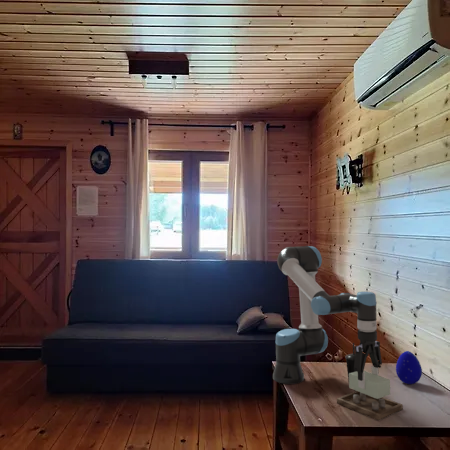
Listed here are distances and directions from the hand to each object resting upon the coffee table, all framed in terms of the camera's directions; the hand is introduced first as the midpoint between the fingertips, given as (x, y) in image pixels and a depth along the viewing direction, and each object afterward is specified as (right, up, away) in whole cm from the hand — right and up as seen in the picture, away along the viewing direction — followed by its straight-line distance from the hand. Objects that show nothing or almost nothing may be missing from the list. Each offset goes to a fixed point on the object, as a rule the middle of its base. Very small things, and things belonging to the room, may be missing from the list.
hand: (368, 385), depth 168 cm
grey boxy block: (0, -2, 0) cm, 2 cm away
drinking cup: (+1, -9, +21) cm, 23 cm away
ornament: (+27, -9, +24) cm, 37 cm away
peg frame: (0, -9, 0) cm, 9 cm away
